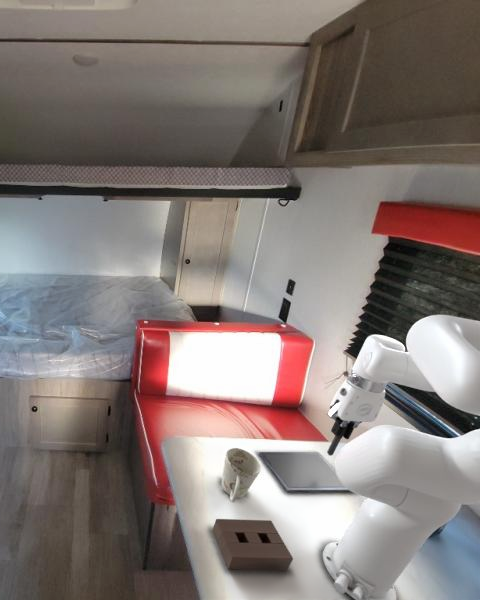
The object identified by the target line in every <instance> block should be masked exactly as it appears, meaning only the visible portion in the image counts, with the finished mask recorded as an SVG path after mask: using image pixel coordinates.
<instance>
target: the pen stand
mask: <svg viewBox="0 0 480 600" xmlns="http://www.w3.org/2000/svg"><path fill="white" fill-rule="evenodd" d="M211 530H212V533H213V536H214V538H215V541H216V544H217V546H218V548H219V551H220V554H221V556H222V559H223V561H224V563H225V566H226V568H227V570H252V571H253V570H256V571H288V570H289V568H290V566H291V564H292V562H293V560H294V557H293V556H292V553H291V552H290V550H289V549H288V547H287V545H286V544H285V542H284V540H283V538H282V536H281V534H280V533H279V531H278V530H277V528H276V526H275V525H274V523H273V520H266V519H234V518H233V519H232V518H216V519H215V522H214V524H213V527H212V529H211Z"/></svg>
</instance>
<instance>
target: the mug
mask: <svg viewBox="0 0 480 600" xmlns="http://www.w3.org/2000/svg"><path fill="white" fill-rule="evenodd" d="M222 469H223V470H222V471H223V472H222V477H221V487H222V489H223V490H224V492H225V493H226V494H227V495H228V496H229V501H230V502H231V503H234V502H235V501H236V499H242V498H243V497H244V496H246V494H247V492H248V491H249V489H251V486H252V485H253V483H254V482H255V481H256V479H257V477H258V476H259V474H260V473H261V469H262V468H261V463H260V461H259V460H258V458H256V456H254V455H253V454H252V453H251V452H249V451H247V450H244V449H242V448H237V447H232V448H229V449H228V450H227V451H226V453H225V457H224V463H223V468H222Z"/></svg>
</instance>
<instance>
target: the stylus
mask: <svg viewBox="0 0 480 600" xmlns="http://www.w3.org/2000/svg"><path fill="white" fill-rule="evenodd" d="M349 422H350V421H348V422H347V424H346V426H345V427H346V428H347V426H348V424H349ZM341 439H342V438H341ZM341 439H338V438H337V437H336V436H335V435H334V437H333V439H332V441H331V443H330V445H329V447H328V449H327V451H326V453H327V456H330V457H331V456H333V455H334V453H335V451H336V449H337V447H338V446H339V444H340V442H341Z"/></svg>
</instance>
